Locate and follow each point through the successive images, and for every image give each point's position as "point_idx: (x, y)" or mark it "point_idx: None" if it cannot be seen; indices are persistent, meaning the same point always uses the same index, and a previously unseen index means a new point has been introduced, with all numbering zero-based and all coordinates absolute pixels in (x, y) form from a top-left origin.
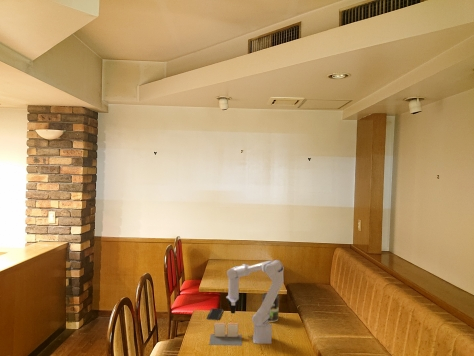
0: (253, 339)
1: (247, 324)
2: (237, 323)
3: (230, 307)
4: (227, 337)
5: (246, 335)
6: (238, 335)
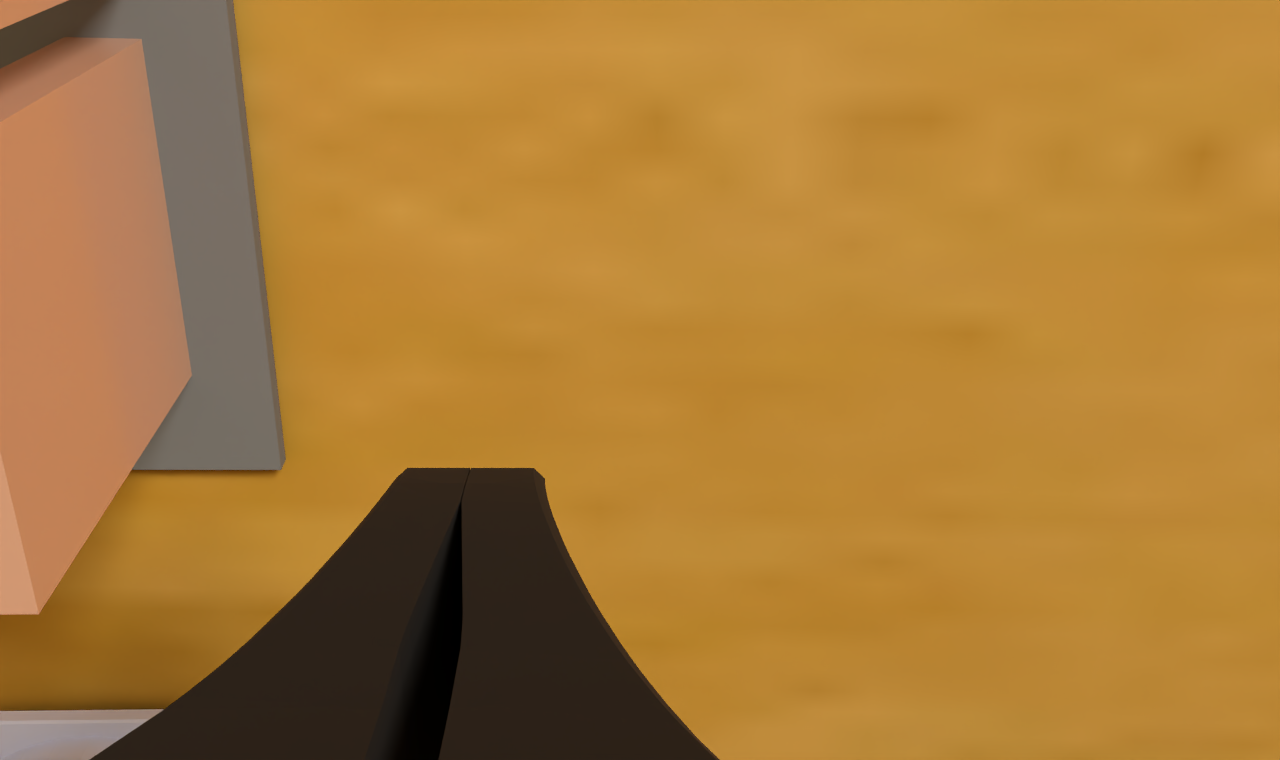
0: (52, 728)
1: (912, 608)
2: (10, 582)
3: (207, 690)
4: (17, 53)
5: (302, 570)
6: (215, 387)
